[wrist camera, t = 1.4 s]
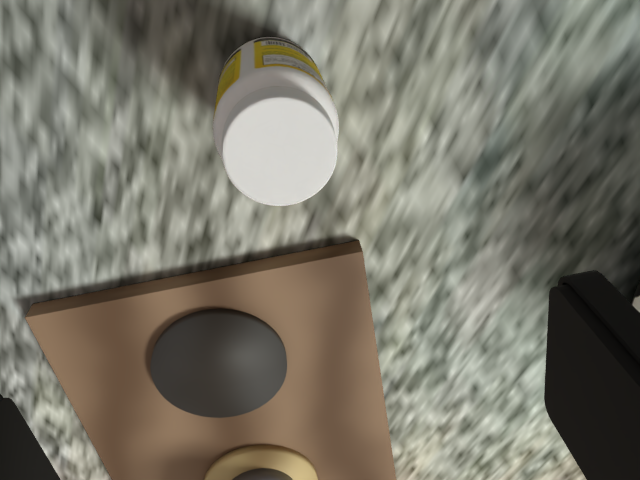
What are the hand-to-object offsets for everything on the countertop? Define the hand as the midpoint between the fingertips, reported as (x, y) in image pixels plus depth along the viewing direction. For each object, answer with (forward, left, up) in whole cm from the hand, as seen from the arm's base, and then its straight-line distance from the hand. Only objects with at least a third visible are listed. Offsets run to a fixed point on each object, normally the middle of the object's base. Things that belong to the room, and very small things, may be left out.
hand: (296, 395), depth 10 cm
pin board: (+6, +20, -19) cm, 28 cm away
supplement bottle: (0, 0, -20) cm, 20 cm away
